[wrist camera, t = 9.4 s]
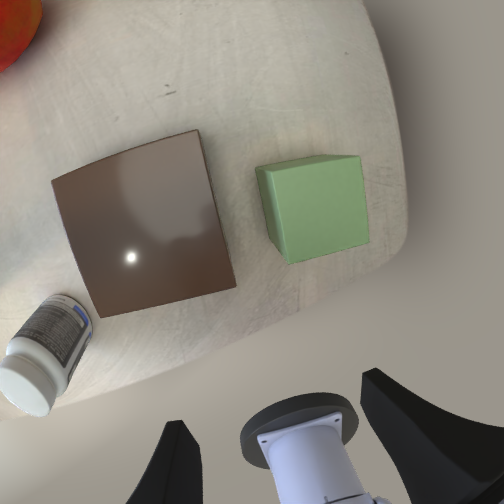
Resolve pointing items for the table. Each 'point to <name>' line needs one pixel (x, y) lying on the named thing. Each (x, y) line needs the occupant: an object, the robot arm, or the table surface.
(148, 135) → the table surface
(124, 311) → the walnut base
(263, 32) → the table surface
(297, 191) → the green block
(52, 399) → the pill bottle
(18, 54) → the apple
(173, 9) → the table surface
